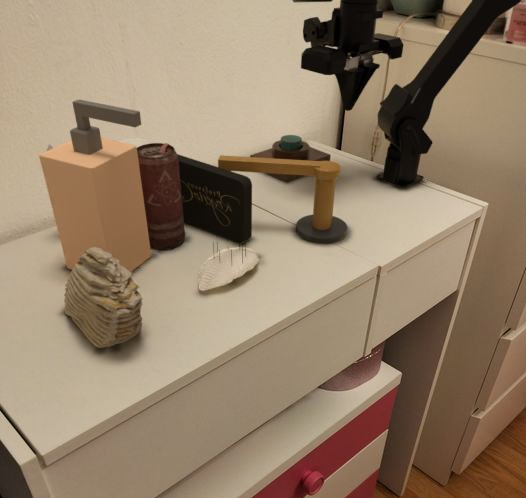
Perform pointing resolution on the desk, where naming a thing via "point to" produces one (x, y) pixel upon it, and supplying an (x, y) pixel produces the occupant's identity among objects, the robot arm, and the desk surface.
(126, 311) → the fossil tooth
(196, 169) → the nameplate
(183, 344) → the desk surface
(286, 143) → the button
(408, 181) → the robot arm
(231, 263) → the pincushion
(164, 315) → the desk surface
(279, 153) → the button box
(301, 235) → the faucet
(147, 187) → the can
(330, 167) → the spout
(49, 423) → the desk surface
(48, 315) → the desk surface
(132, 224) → the soap dispenser
